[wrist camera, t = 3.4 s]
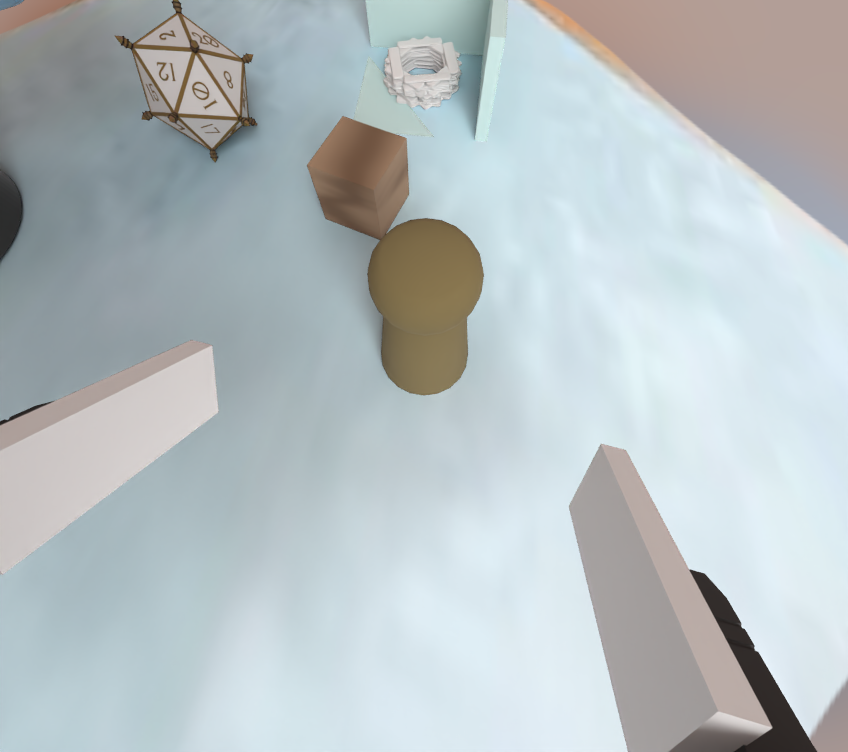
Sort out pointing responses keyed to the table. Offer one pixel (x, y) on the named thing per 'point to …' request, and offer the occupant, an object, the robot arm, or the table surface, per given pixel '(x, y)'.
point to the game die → (192, 81)
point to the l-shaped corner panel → (429, 59)
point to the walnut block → (361, 176)
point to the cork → (425, 302)
